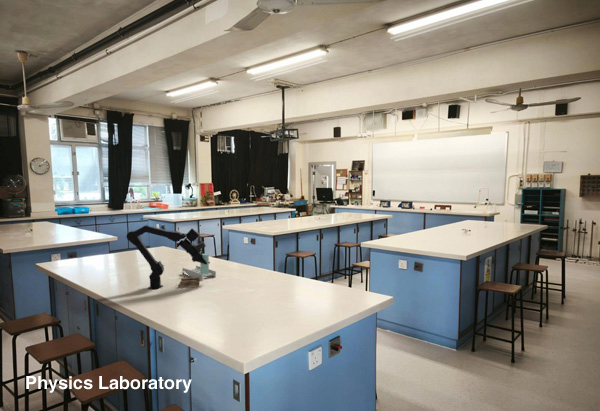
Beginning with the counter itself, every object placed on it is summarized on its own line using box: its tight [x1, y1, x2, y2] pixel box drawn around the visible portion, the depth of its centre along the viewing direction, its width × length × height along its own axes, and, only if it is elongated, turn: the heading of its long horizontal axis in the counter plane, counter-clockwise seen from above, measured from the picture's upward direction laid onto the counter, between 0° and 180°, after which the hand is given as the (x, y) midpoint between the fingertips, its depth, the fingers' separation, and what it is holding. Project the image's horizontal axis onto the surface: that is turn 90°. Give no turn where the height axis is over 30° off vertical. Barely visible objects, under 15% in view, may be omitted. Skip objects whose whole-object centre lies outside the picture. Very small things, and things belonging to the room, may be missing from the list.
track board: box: [178, 276, 201, 289], centre depth 220 cm, size 12×10×4 cm
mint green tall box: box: [199, 253, 211, 274], centre depth 221 cm, size 6×4×12 cm, turn 105°
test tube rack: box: [182, 265, 217, 281], centre depth 243 cm, size 25×4×13 cm
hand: (206, 263), depth 221 cm, fingers closed on mint green tall box, 3 cm apart
